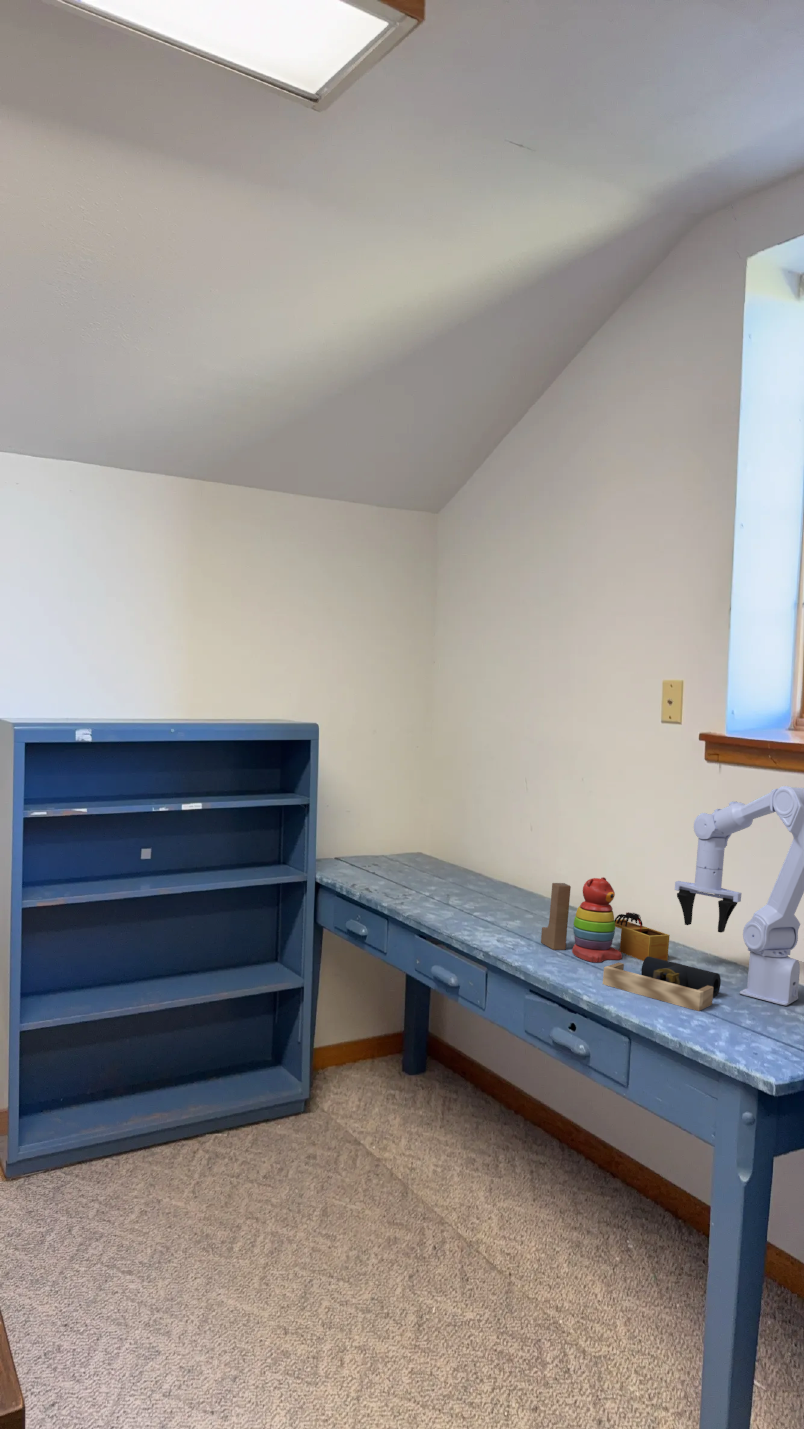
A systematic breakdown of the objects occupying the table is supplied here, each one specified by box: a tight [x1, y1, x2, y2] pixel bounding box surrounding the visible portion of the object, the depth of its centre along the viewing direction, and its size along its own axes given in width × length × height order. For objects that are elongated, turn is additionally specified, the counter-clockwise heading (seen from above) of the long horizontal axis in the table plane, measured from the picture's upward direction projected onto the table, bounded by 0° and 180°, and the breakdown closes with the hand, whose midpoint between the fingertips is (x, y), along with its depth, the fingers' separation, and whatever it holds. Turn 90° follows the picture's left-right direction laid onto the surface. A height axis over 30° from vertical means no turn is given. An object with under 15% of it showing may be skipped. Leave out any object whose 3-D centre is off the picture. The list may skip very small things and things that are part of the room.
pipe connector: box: [640, 956, 722, 999], centre depth 193 cm, size 12×5×15 cm
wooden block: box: [540, 882, 572, 951], centre depth 222 cm, size 7×3×15 cm, turn 18°
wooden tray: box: [602, 962, 714, 1012], centre depth 189 cm, size 20×6×4 cm, turn 50°
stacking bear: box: [571, 876, 623, 963], centre depth 217 cm, size 11×10×18 cm
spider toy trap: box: [614, 912, 670, 962], centre depth 222 cm, size 6×15×9 cm, turn 30°
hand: (704, 928), depth 211 cm, fingers open, 7 cm apart
